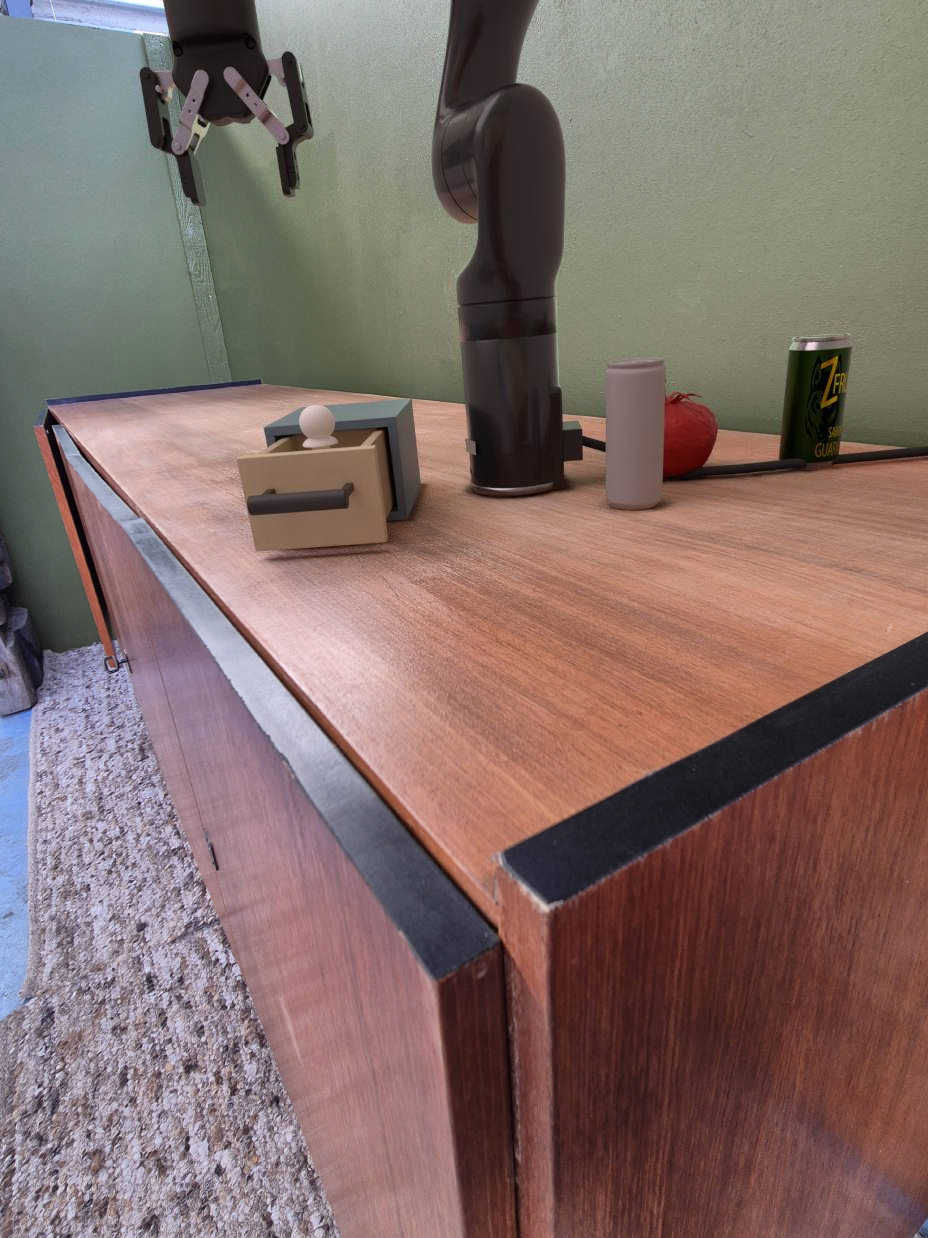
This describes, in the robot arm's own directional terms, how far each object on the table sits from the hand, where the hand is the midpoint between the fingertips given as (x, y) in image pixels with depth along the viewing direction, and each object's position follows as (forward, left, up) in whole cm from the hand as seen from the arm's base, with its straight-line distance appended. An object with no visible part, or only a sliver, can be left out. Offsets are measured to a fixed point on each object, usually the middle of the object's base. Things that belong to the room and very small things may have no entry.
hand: (244, 200), depth 66 cm
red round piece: (-39, +2, -28) cm, 48 cm away
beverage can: (-34, +13, -28) cm, 46 cm away
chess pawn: (-8, +17, -26) cm, 32 cm away
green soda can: (-53, +3, -28) cm, 60 cm away
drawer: (-8, +18, -27) cm, 34 cm away
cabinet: (-8, +6, -28) cm, 30 cm away
